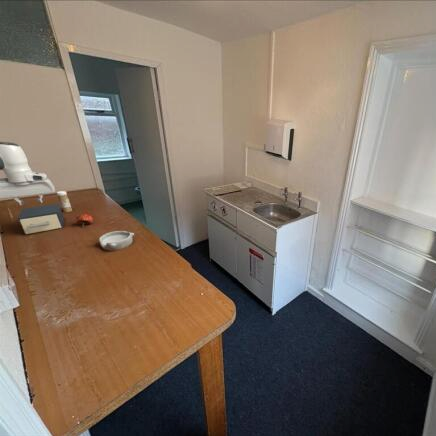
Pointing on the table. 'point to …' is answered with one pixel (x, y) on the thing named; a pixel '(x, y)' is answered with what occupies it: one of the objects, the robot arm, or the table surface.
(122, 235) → the dish
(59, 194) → the sprinkles bottle
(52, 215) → the drawer
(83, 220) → the red mushroom
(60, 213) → the cabinet
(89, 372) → the table surface
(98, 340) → the table surface
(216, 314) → the table surface
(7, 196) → the robot arm
